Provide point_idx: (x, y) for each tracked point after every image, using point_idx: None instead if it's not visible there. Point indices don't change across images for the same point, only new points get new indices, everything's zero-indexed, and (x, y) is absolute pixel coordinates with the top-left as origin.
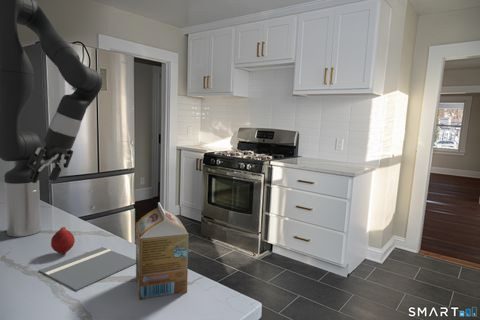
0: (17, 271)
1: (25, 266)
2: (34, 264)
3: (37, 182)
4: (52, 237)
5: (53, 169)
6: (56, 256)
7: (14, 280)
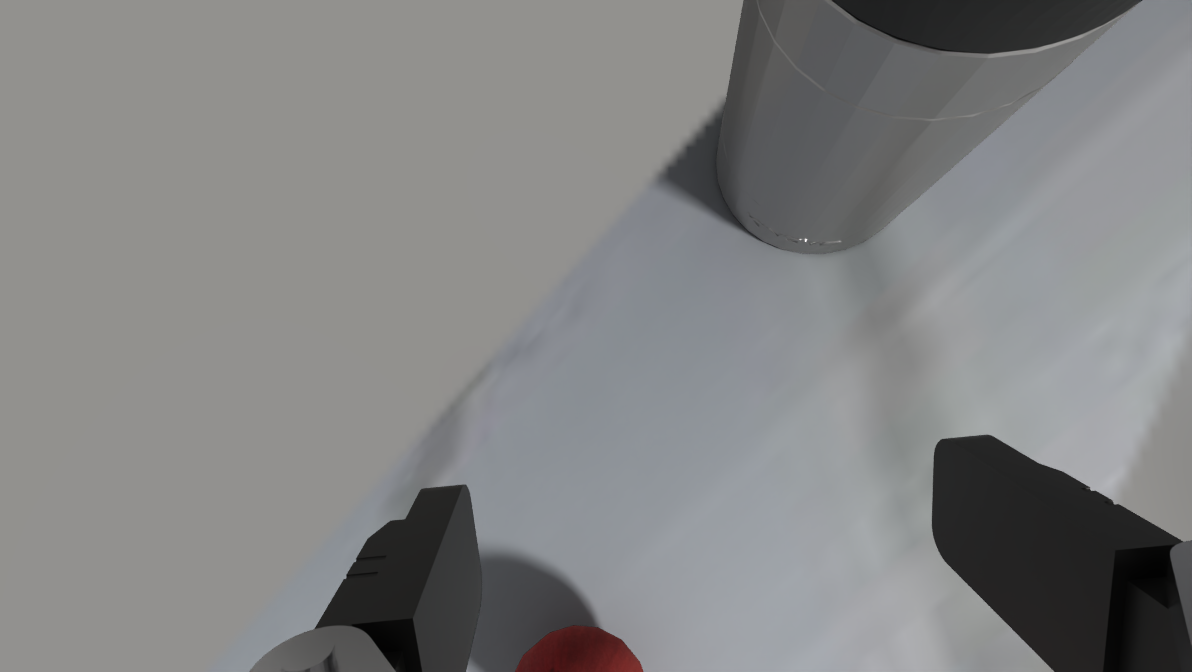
0: None
1: None
2: None
3: (1056, 53)
4: (532, 668)
5: (1078, 541)
6: None
7: None
